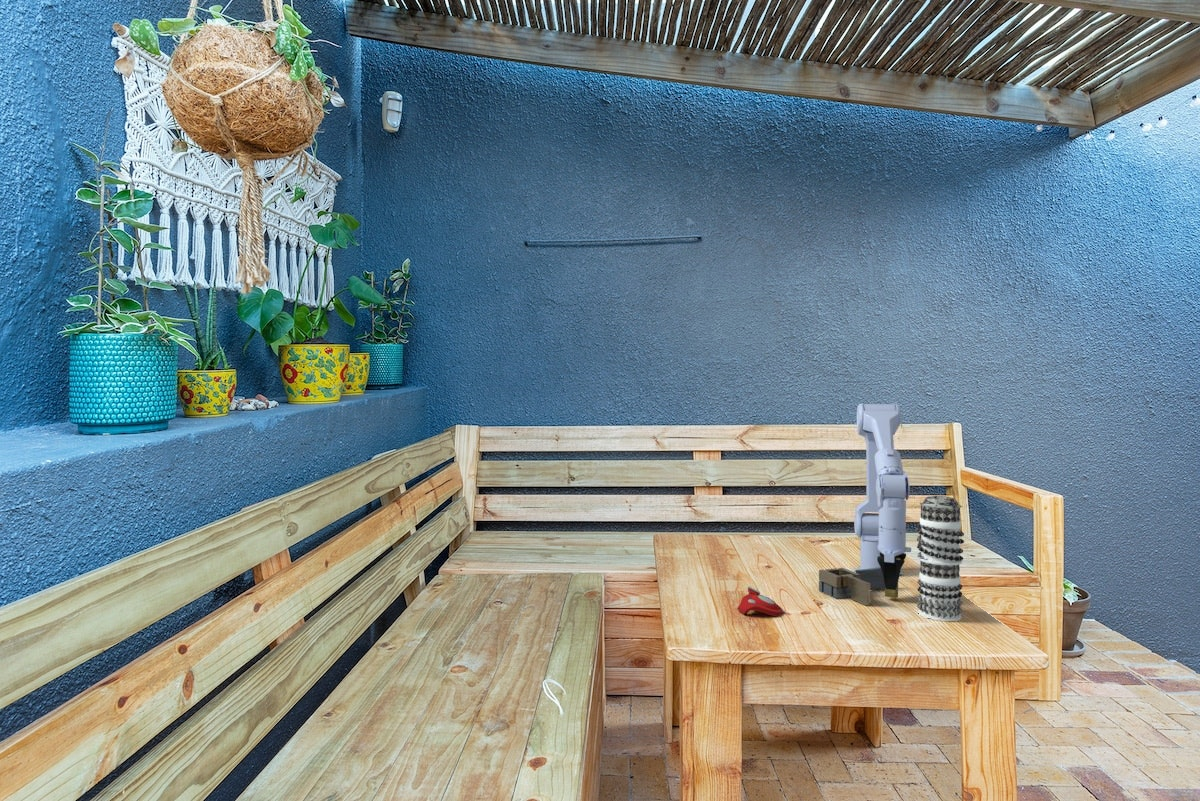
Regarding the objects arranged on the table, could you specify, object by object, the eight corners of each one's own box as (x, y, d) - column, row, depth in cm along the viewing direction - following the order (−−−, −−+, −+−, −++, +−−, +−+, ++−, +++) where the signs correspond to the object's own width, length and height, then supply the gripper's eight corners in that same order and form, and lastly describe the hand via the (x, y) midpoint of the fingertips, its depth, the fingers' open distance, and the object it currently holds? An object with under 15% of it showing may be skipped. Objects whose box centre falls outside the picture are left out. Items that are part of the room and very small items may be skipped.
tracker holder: (793, 609, 154) (760, 605, 149) (786, 628, 154) (753, 625, 149) (756, 582, 164) (724, 578, 159) (749, 600, 165) (717, 597, 159)
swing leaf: (818, 590, 170) (818, 570, 170) (842, 587, 172) (842, 567, 172) (855, 606, 158) (855, 585, 157) (880, 603, 160) (880, 582, 160)
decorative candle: (905, 611, 155) (906, 495, 154) (937, 606, 158) (938, 493, 158) (941, 624, 146) (942, 502, 146) (973, 618, 150) (974, 499, 149)
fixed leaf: (836, 599, 164) (836, 577, 164) (818, 591, 170) (818, 570, 170) (894, 592, 169) (895, 571, 169) (875, 584, 175) (875, 564, 175)
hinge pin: (892, 592, 165) (892, 555, 165) (903, 597, 162) (904, 559, 162) (879, 594, 164) (879, 557, 164) (890, 599, 161) (890, 560, 161)
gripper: (909, 535, 154) (908, 598, 155) (913, 523, 167) (912, 581, 168) (874, 532, 158) (873, 593, 158) (880, 520, 171) (880, 577, 171)
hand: (891, 587), depth 163 cm, fingers closed on hinge pin, 3 cm apart
